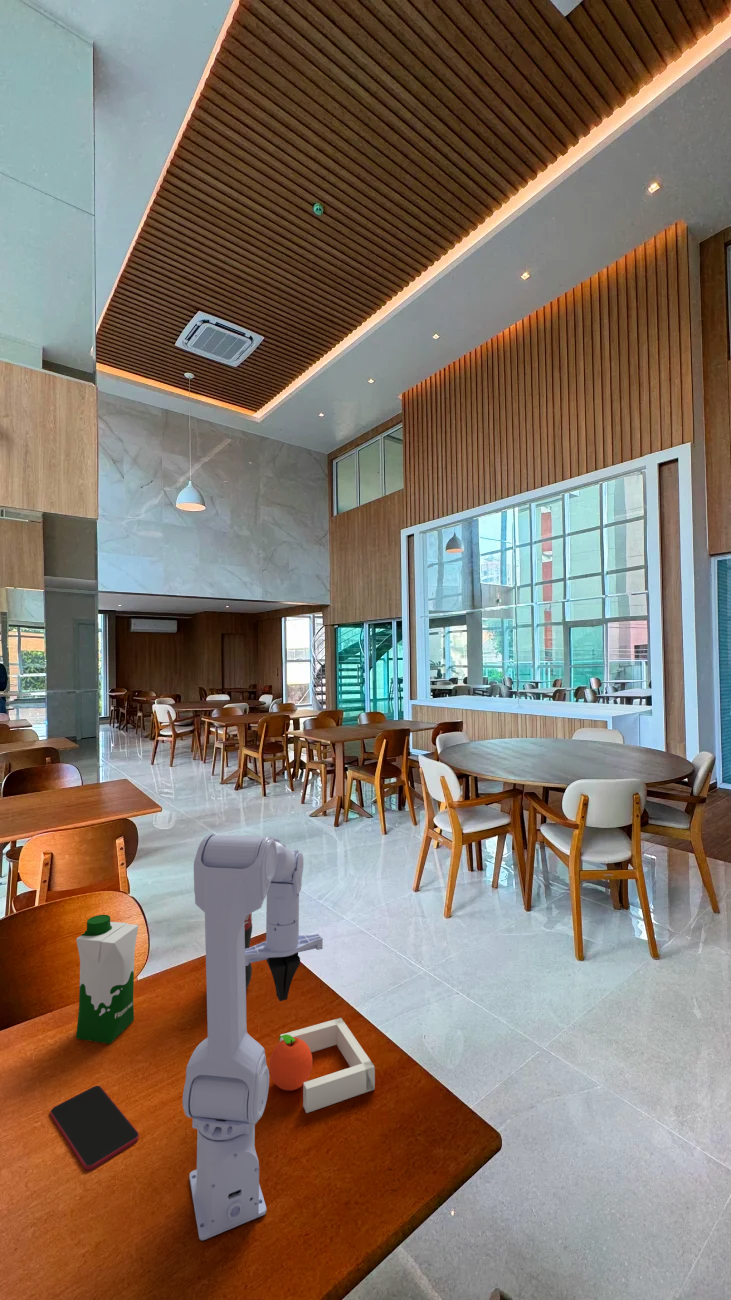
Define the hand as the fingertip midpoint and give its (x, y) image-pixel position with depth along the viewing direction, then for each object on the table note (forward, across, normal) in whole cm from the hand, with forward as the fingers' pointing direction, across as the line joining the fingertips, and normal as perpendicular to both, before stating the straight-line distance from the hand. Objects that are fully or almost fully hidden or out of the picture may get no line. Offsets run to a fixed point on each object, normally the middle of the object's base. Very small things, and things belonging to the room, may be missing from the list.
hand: (281, 997), depth 97 cm
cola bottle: (+10, +4, -24) cm, 26 cm away
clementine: (+10, +1, +8) cm, 12 cm away
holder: (+9, -5, +8) cm, 13 cm away
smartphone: (+10, +30, +3) cm, 31 cm away
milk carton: (+10, +28, -20) cm, 36 cm away
